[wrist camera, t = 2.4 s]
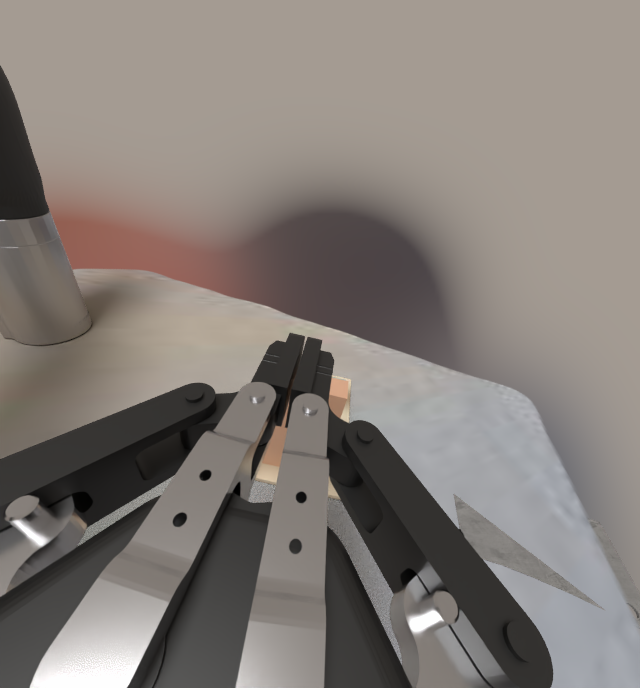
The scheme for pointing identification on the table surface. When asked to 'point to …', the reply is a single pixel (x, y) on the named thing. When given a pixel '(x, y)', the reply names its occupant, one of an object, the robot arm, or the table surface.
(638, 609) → the kitchen knife
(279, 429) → the tile
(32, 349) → the table surface
